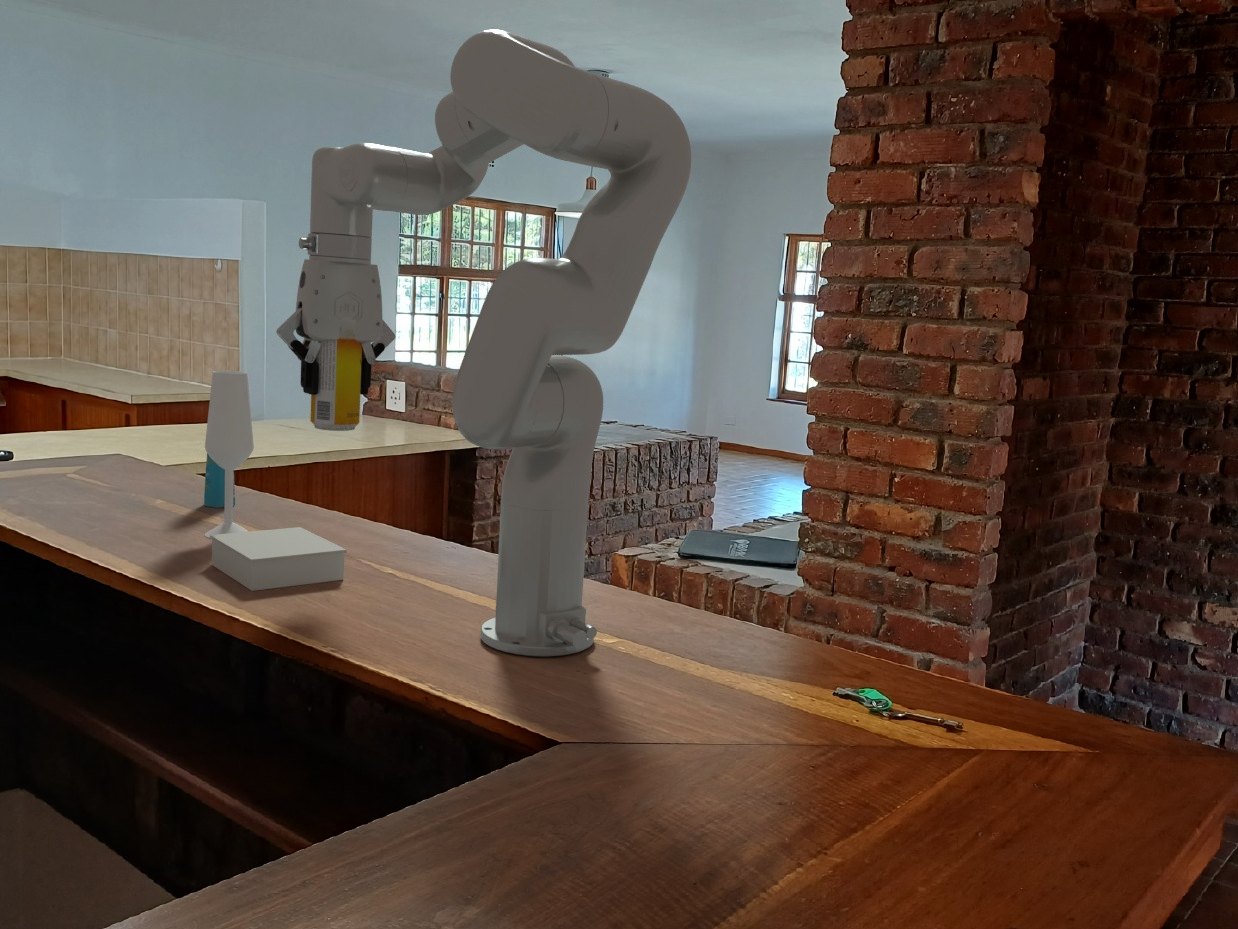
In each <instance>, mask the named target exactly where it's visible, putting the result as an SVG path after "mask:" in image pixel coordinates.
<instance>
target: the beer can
mask: <svg viewBox="0 0 1238 929" xmlns="http://www.w3.org/2000/svg"><path fill="white" fill-rule="evenodd" d="M342 318H343V319H342V320H340V319H339V321H340V331H339V339H338V340H335V341H332V342H328V341H322V344H321V346H320V349H319V351H318V353H317V356H316V359H315V363H318V364H319V382H318V394H316V395H311V394H310V420H309V421H310V422H311V424H313V426H314V428H315V429H317V430H320V431H321V430H322V431H331V432H332V431H333V432H335V431H336V432H342V431H343V432H347V431H348V432H349V431H354V430H355V429H356V427H357V426H358V425H359V424H360V415H361V414H360V413H361V411H360V410H361V394H360V391H361V363H362V343H359V342H358V341H357V340H356V320H355V321H354V320H353V318H352V317H350V316H345V317H342Z"/></svg>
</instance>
